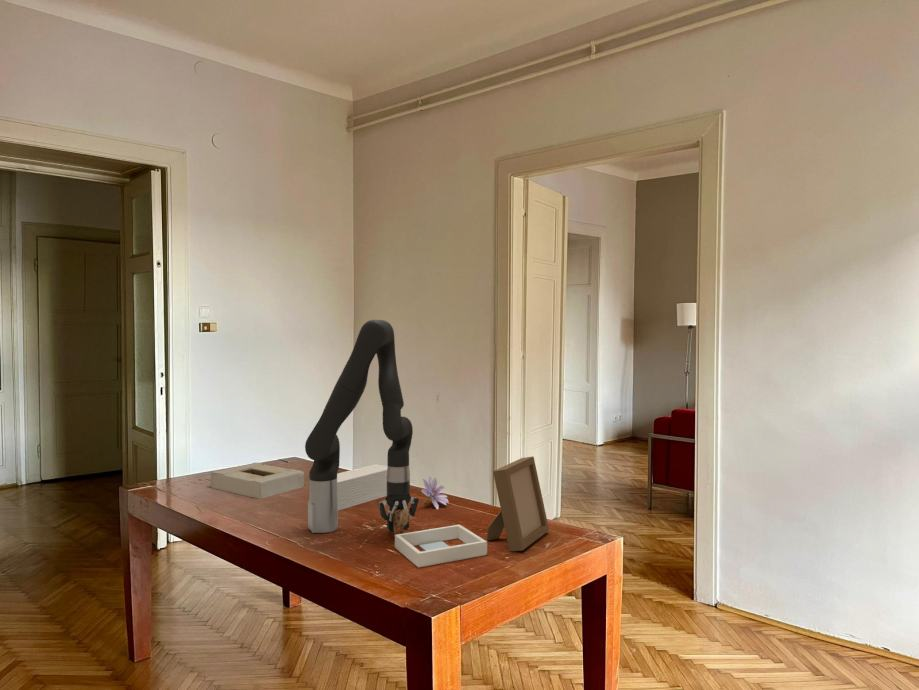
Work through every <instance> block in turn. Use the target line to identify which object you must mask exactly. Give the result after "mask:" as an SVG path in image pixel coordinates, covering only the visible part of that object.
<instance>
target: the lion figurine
mask: <svg viewBox="0 0 919 690" xmlns="http://www.w3.org/2000/svg"><path fill="white" fill-rule="evenodd" d="M413 517H414V516H411V515H410V514H409V513H408V512H407V510H406V509H402V510H397V511H396V512H395V515H394V517H393V520H392V521H393V533H394V534H393V537H394V538H395V535H397V534H398V529H400V531H399V534H403V533H404V529H403V528H404V527H405V525H406V524H407V523H408V521H409V523H411V520H412V519H413ZM385 526H386V527H387V523H385ZM386 532H389V530H388V529H387V528H386Z"/></svg>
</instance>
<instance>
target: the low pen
mask: <svg viewBox="0 0 919 690" xmlns="http://www.w3.org/2000/svg"><path fill="white" fill-rule="evenodd" d="M455 539H459V540H460V541H461V542H462V543H463V544H457V545H451V546H450V545H448V544H447V543H446V542H444V541H451V540H455ZM415 546H419V548H420V549H422V550H423V551H421V550H419V549H418V548H417V547H415ZM394 548H395V549H396V550H397V551H398V552H400V553H401V555H403V556H404V557H406V559H407V560H409V561H410V562H411V563H413V564H414V565H415V566H416V567H417V568H422V567H423V568H425V567H429V566H434V565H439V564H444V563H445V564H446V563H450V562H457V561H460V560H467V559H470V558H472V559H473V558H477V557H483V556H487V555H488V540H485V539H484V538H482V537H481V536H479V535H477V534H475V533H474V532H472V531H471V530H469V529H468V528H466V527H465V526H463V525H461V524H455V525H448V526H441V527H435V528H428V529H424V530H416V531H412V532H411V531H410V532H403V534H400V533H397V535H395V537H394Z"/></svg>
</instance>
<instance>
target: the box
mask: <svg viewBox="0 0 919 690" xmlns="http://www.w3.org/2000/svg"><path fill="white" fill-rule="evenodd" d="M304 486H305V472H304V471H302V470H300V469H294V468H291V469H290V468H285V467H284V468H283V467H280V466H273V465H268V464H265V463H261V462H251V463H247V464H243V465H240V466H239V465H238V466H235V467H231V468H227V469H223V470H216V471H215V470H214V471H212V472H211V473H210V487H211V489H216V490H221V491H224V492H228V493H233V494H238V495H241V496H245V497H250V498H254V499H259V500H261V499H264V498H268V497H272V496H274V495H275V496H276V495H279V494H283V493H287V492H290V491H293V490H294V491H295V490H298V489H300V488H304Z"/></svg>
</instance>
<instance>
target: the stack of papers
mask: <svg viewBox="0 0 919 690" xmlns="http://www.w3.org/2000/svg"><path fill="white" fill-rule="evenodd" d="M386 476H387V465H382V464H377V463H375V464H370V465H367V466H363V467H359V468H355V469H351V470H346V471H342V472H339V473H338V472H337V506H338V511H341V510H344V509H347V508H350V507H351V508H352V507H354V506H357V505H360V504H361V505H362V504H364V503H367V502H371V501H374V500H377V499H381V498H384V497H385V498H386V497H387V479H386Z"/></svg>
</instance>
